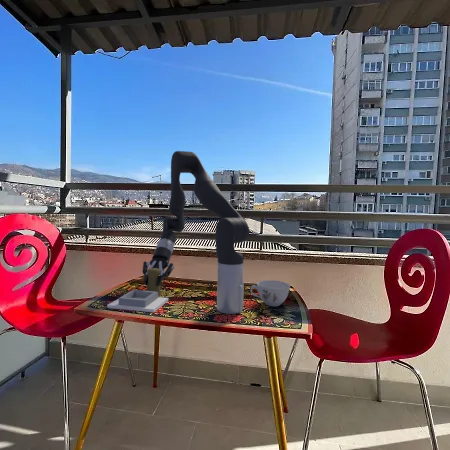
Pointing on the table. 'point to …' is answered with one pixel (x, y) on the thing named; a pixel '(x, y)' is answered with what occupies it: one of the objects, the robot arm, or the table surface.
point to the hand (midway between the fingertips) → (151, 284)
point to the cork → (153, 280)
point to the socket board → (139, 301)
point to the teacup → (272, 291)
